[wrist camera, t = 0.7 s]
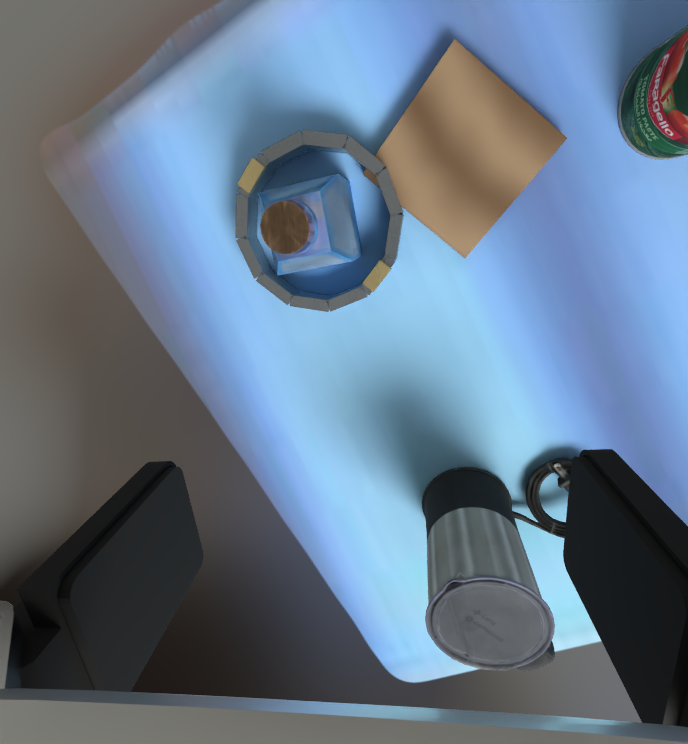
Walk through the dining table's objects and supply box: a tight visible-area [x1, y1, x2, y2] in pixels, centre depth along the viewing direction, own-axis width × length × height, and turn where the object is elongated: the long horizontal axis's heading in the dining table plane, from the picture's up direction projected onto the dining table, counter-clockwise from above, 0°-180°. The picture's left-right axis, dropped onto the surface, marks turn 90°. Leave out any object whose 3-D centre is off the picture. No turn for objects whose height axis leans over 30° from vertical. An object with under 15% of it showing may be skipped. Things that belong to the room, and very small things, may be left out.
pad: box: [363, 39, 567, 258], centre depth 33 cm, size 11×11×1 cm
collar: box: [236, 130, 404, 312], centre depth 36 cm, size 14×14×3 cm
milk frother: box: [422, 458, 572, 671], centre depth 37 cm, size 14×16×15 cm
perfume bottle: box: [258, 174, 362, 276], centre depth 32 cm, size 6×6×12 cm
